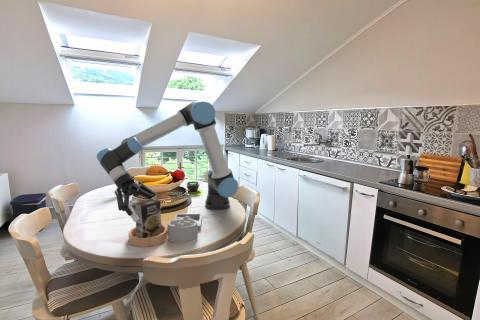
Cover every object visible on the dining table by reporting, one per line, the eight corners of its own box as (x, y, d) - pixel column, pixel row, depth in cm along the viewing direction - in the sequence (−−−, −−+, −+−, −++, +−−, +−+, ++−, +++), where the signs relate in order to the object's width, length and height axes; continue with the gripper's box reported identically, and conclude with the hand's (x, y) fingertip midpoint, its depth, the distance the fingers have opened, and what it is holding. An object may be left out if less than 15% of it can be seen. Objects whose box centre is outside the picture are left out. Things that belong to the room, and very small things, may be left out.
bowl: (169, 229, 121) (169, 222, 121) (163, 245, 105) (163, 238, 105) (135, 230, 119) (135, 223, 119) (124, 247, 104) (123, 239, 103)
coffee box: (143, 242, 107) (141, 206, 105) (136, 237, 111) (134, 202, 109) (162, 234, 114) (160, 201, 112) (154, 230, 118) (152, 197, 116)
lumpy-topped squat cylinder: (177, 230, 121) (177, 213, 119) (201, 234, 117) (201, 216, 115) (165, 240, 111) (164, 221, 109) (191, 244, 107) (191, 225, 106)
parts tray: (201, 217, 136) (201, 213, 135) (200, 230, 121) (200, 225, 120) (176, 218, 134) (175, 214, 134) (171, 231, 119) (171, 226, 119)
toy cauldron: (207, 192, 183) (207, 177, 181) (193, 197, 171) (193, 181, 169) (192, 188, 191) (192, 174, 189) (177, 193, 179) (177, 178, 177)
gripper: (138, 177, 126) (163, 210, 123) (92, 189, 103) (121, 230, 100) (146, 167, 123) (171, 201, 120) (100, 178, 101) (130, 220, 97)
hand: (149, 214), depth 110 cm, fingers open, 13 cm apart
